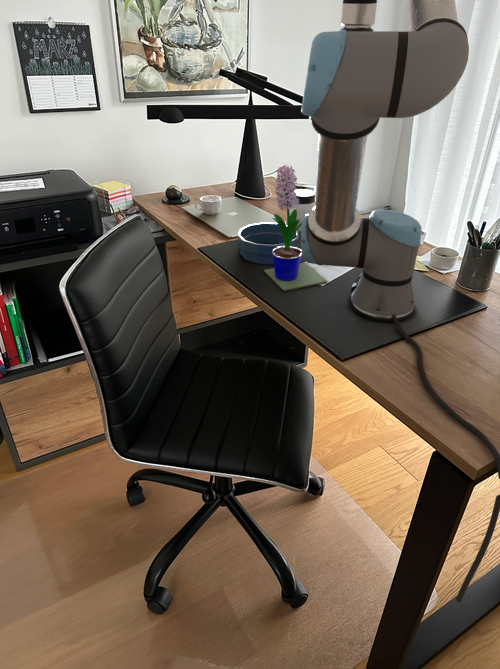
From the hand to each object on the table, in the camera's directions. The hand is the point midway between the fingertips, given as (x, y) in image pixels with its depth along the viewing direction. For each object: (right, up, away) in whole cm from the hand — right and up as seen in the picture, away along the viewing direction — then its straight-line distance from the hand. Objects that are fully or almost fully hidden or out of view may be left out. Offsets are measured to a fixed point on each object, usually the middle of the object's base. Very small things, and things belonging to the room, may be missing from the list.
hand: (346, 127), depth 120 cm
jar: (-7, -16, +44) cm, 47 cm away
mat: (-12, -36, +12) cm, 40 cm away
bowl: (-19, -27, +26) cm, 42 cm away
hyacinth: (-14, -37, +12) cm, 41 cm away
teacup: (-40, -8, +56) cm, 69 cm away
